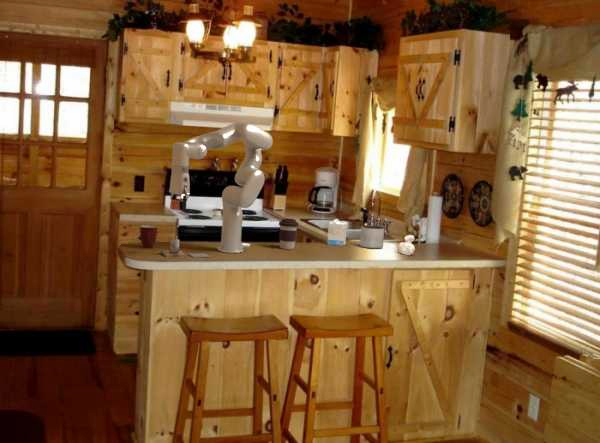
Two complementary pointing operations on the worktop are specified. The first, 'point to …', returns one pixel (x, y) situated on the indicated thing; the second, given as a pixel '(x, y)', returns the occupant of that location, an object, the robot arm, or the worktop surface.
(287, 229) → the coffee cup
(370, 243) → the planter
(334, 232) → the ink box
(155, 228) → the mug
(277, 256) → the worktop surface
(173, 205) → the orange round piece
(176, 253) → the post base
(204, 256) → the mat
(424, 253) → the worktop surface
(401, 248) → the duck figurine
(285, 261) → the worktop surface
